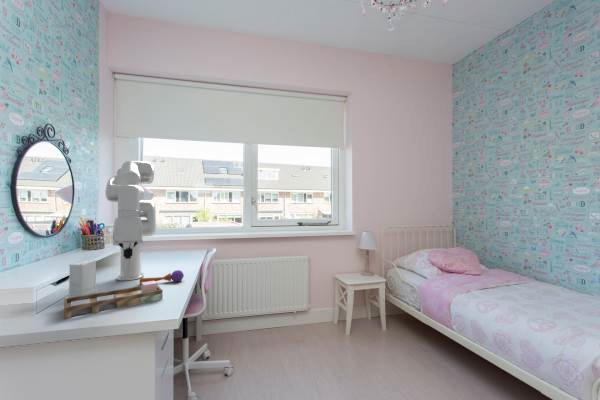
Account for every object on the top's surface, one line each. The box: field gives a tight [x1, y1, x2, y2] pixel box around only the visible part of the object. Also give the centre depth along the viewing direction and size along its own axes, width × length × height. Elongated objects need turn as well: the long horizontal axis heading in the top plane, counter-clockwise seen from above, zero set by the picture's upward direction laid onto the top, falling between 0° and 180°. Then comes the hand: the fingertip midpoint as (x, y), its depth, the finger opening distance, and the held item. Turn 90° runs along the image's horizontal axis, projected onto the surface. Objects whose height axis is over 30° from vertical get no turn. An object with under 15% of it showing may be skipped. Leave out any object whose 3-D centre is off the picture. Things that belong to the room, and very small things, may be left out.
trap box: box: [63, 284, 163, 320], centre depth 112 cm, size 32×12×4 cm, turn 130°
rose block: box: [140, 281, 158, 293], centre depth 119 cm, size 5×5×4 cm
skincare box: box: [68, 259, 97, 298], centre depth 121 cm, size 8×6×15 cm
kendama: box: [139, 269, 184, 286], centre depth 142 cm, size 6×6×20 cm
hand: (127, 258), depth 115 cm, fingers closed
